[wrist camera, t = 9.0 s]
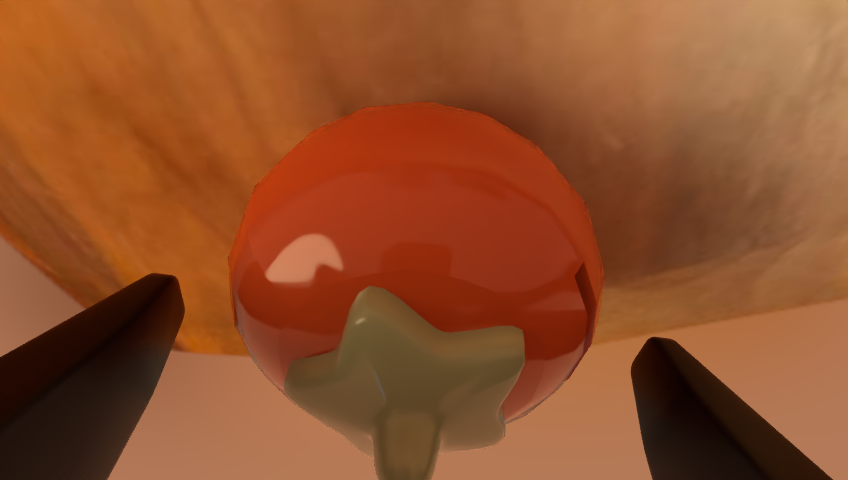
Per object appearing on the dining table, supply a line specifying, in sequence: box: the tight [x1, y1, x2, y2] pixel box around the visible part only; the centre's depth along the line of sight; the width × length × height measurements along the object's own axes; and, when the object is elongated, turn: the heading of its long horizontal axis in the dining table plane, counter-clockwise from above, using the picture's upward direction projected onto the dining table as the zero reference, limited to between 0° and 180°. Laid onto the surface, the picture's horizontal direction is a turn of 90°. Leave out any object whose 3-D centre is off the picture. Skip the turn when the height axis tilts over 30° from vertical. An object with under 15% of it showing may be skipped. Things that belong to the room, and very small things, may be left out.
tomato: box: [228, 101, 605, 480], centre depth 9 cm, size 7×7×8 cm
